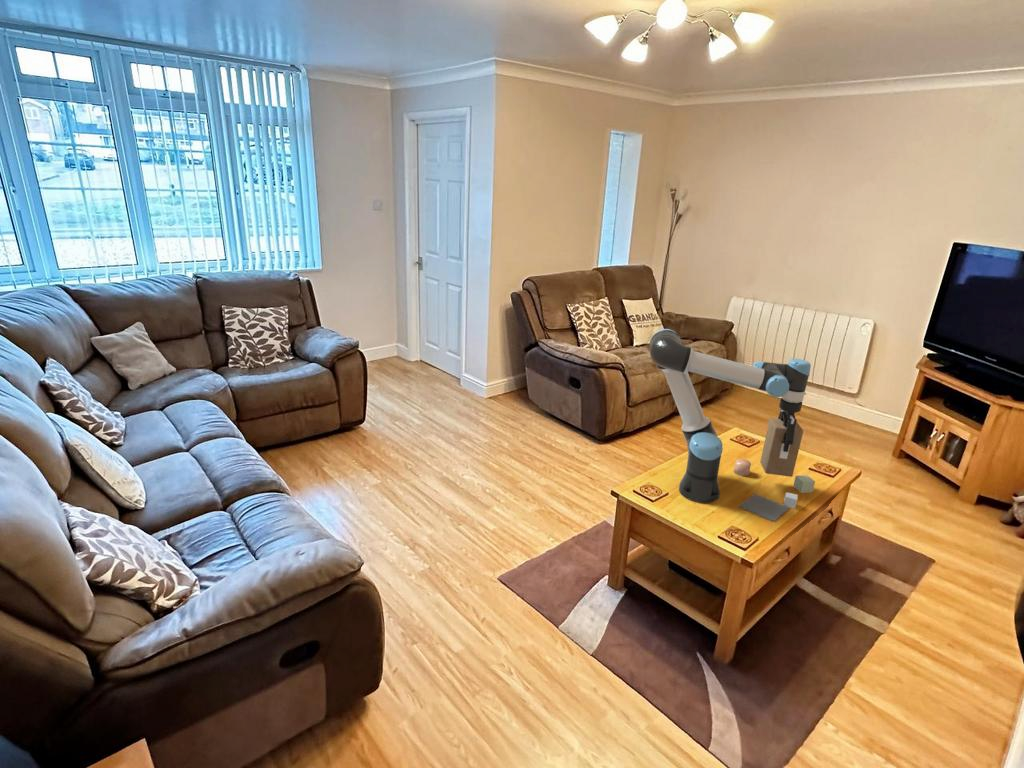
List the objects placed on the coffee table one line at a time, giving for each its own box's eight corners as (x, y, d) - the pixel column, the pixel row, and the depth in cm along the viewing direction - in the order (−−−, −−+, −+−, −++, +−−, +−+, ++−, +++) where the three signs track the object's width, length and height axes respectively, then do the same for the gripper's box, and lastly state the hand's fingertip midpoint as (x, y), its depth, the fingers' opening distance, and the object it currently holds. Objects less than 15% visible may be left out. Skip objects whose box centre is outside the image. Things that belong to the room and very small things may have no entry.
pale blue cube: (783, 506, 205) (785, 496, 204) (784, 501, 208) (786, 492, 207) (795, 509, 203) (797, 499, 202) (795, 504, 207) (797, 494, 205)
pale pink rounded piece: (734, 475, 227) (736, 464, 225) (732, 468, 232) (734, 458, 231) (750, 477, 226) (752, 466, 224) (747, 470, 231) (749, 460, 230)
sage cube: (800, 493, 214) (803, 482, 213) (793, 486, 219) (795, 475, 217) (812, 492, 215) (815, 481, 213) (804, 486, 220) (807, 475, 218)
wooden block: (792, 477, 210) (804, 430, 204) (765, 473, 212) (775, 427, 205) (785, 465, 220) (796, 420, 213) (759, 462, 221) (769, 417, 215)
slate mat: (773, 522, 195) (773, 520, 195) (738, 506, 204) (739, 505, 204) (788, 509, 203) (789, 507, 203) (755, 495, 212) (755, 493, 212)
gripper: (810, 411, 195) (797, 466, 202) (795, 390, 215) (783, 441, 223) (788, 409, 196) (775, 463, 204) (774, 388, 217) (764, 438, 224)
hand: (779, 452), depth 213 cm, fingers closed on wooden block, 10 cm apart
